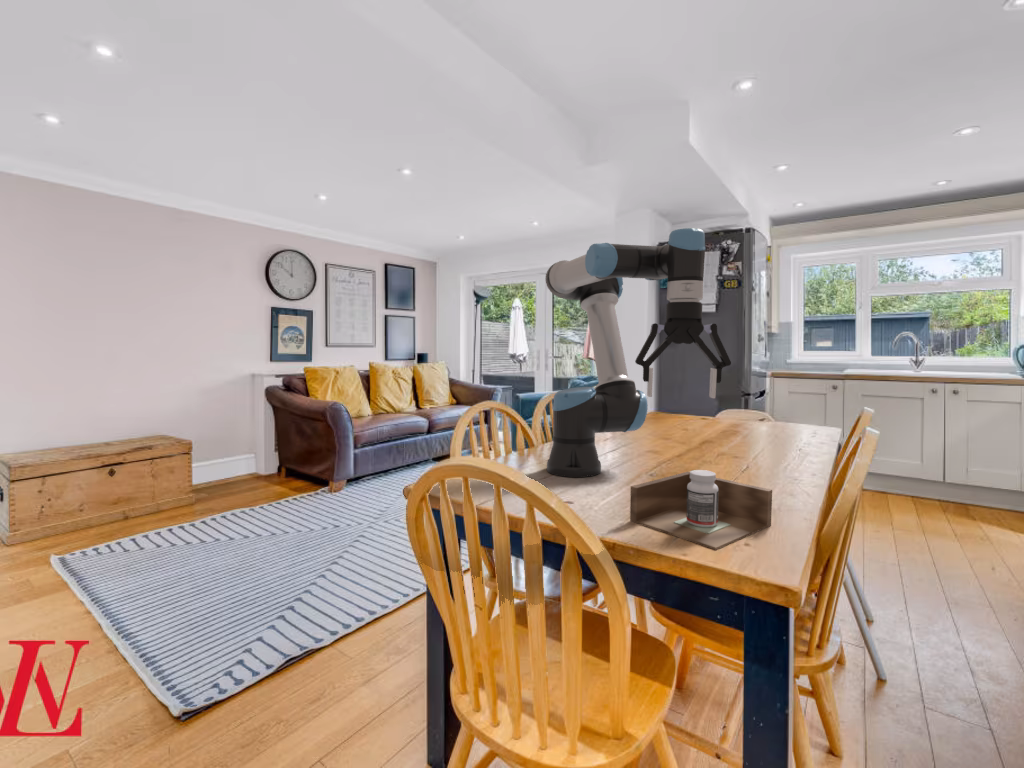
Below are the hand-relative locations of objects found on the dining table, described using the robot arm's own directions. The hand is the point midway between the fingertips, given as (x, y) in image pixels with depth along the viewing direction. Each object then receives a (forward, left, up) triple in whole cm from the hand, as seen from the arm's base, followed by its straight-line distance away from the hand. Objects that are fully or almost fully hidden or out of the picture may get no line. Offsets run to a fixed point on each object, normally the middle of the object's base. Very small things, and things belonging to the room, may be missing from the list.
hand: (680, 397), depth 114 cm
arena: (+12, -10, -23) cm, 28 cm away
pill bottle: (+13, -12, -23) cm, 29 cm away
